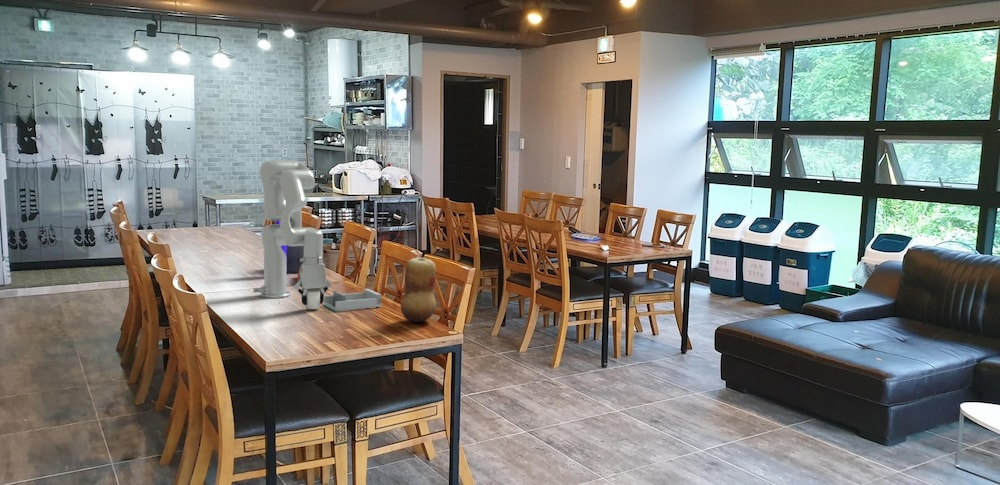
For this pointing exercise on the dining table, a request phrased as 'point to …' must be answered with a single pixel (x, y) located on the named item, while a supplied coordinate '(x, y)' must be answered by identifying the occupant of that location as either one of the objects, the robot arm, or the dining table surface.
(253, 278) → the dining table surface
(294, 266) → the planter
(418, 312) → the butternut squash
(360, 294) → the grey tray
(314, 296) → the jar
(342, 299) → the pusher
